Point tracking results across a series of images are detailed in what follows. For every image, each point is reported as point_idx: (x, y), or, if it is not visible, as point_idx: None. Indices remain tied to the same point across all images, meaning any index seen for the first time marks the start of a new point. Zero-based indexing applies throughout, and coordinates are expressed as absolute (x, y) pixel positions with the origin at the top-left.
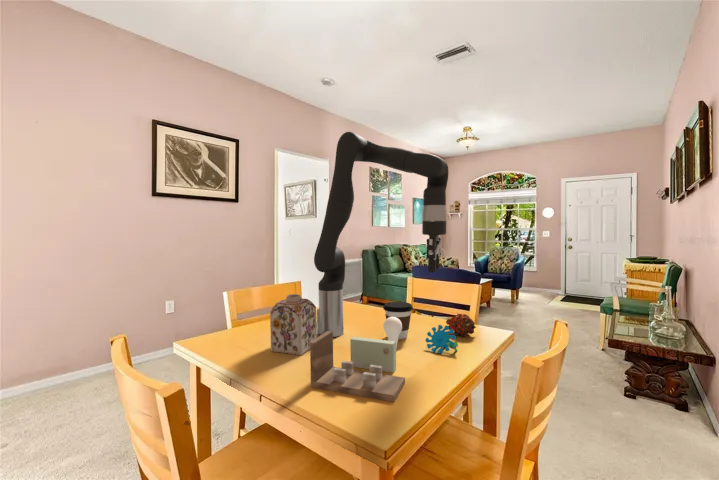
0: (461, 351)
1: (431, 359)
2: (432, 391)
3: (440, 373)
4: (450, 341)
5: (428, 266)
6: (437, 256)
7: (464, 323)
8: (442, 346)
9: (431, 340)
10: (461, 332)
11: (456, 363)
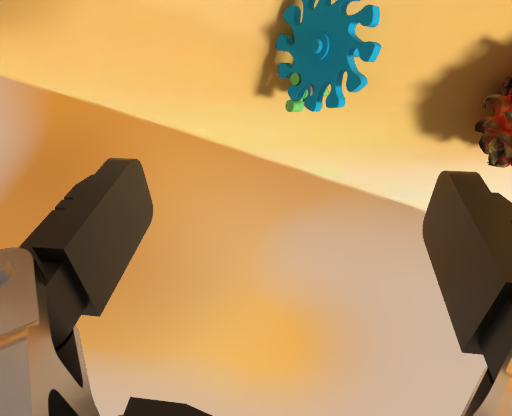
0: (325, 107)
1: (221, 17)
2: (28, 56)
3: (133, 62)
4: (298, 89)
5: (85, 191)
6: (491, 360)
7: (498, 137)
8: (291, 54)
9: (320, 5)
10: (494, 107)
11: (221, 99)
